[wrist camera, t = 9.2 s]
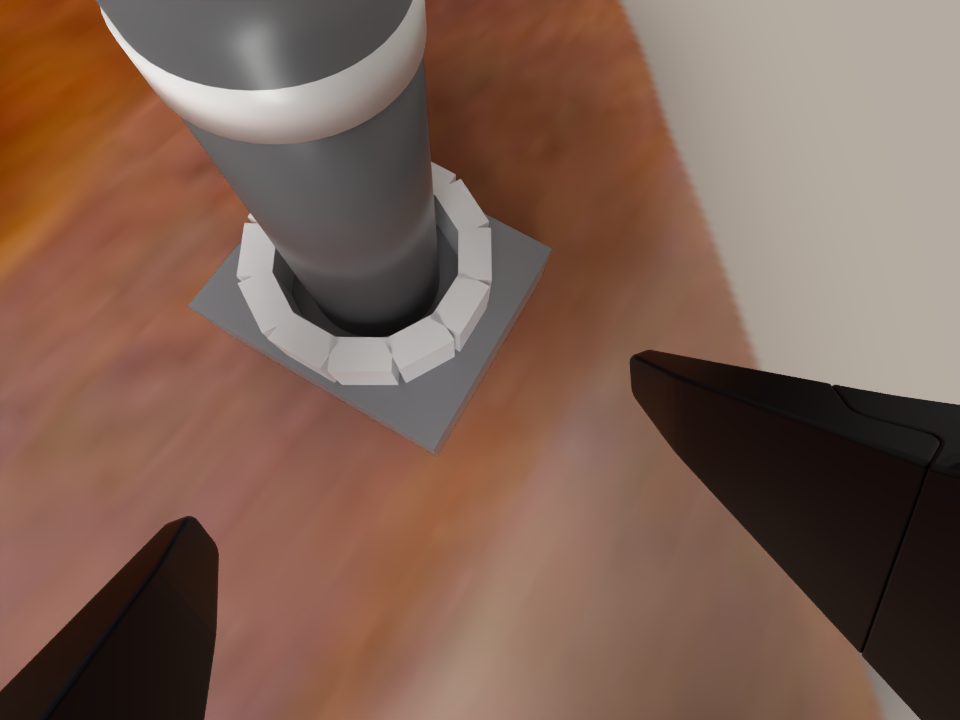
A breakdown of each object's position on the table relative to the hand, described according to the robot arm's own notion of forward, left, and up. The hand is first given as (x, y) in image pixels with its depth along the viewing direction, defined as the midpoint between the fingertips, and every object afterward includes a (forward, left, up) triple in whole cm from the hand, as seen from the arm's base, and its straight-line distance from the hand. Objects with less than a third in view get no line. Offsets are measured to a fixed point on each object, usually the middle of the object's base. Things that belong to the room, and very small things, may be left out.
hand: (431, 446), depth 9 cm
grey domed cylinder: (+6, -5, -8) cm, 11 cm away
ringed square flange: (+6, -5, -11) cm, 13 cm away
